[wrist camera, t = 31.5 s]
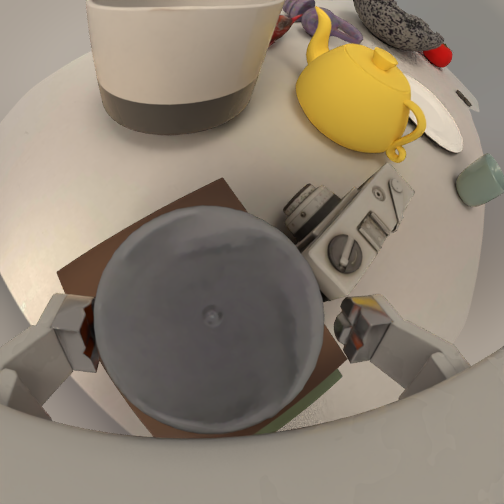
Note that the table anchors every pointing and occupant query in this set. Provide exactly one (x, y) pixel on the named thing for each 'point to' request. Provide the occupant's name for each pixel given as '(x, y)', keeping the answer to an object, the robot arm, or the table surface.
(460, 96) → the corroded twin loop
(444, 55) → the tomato
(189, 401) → the supplement bottle
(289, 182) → the table surface
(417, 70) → the table surface
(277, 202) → the table surface
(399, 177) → the camera
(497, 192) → the cup
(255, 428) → the cabinet
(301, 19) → the headphones
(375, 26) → the bowl
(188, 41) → the planter
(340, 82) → the teapot
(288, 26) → the decorative bird figurine
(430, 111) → the plate
